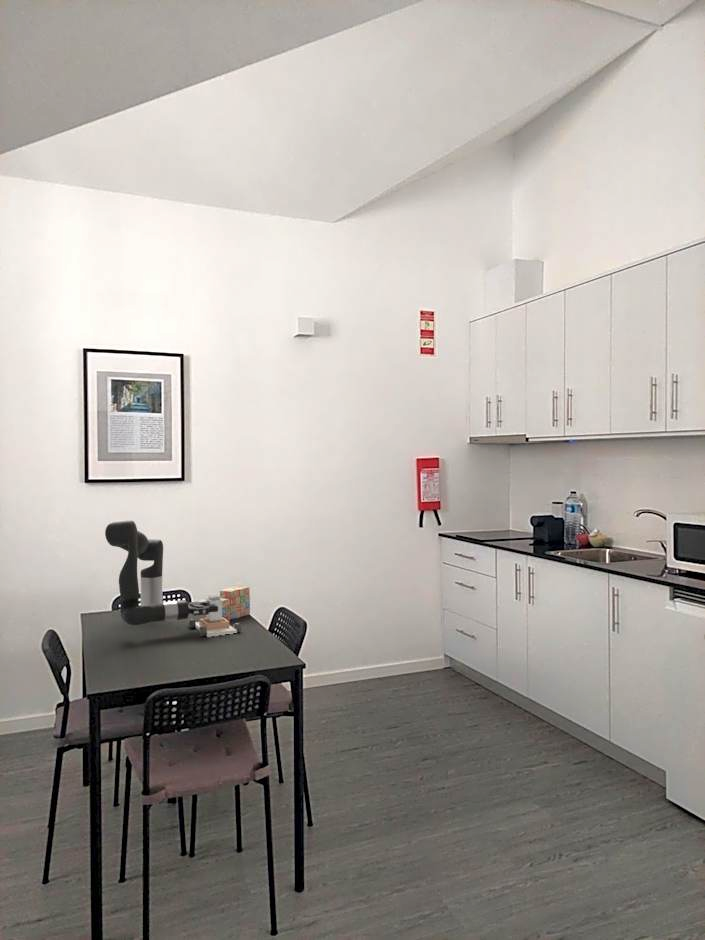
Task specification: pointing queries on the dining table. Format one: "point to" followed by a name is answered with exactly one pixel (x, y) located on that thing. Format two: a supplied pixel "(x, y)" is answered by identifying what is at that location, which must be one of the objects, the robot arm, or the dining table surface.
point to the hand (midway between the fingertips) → (214, 606)
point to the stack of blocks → (235, 602)
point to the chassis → (214, 627)
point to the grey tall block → (214, 615)
